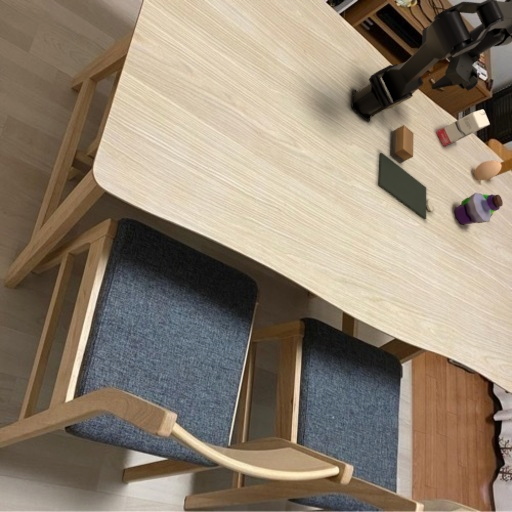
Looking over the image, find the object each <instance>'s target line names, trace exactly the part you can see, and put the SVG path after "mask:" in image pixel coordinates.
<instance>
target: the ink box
mask: <svg viewBox="0 0 512 512" xmlns="http://www.w3.org/2000/svg"><path fill="white" fill-rule="evenodd" d="M490 125H491V123H490V121H489V118H488V116H487V113H486V111H485V110H484V109H478V110H476V111H473V112H471V113H469V114H467V115H465V116H463V117H461V118H459V119H457V120H455V121H454V122H452V123H450V124H448V125H446V126H444V127H443V128H441V129H439V130H437V131H436V134H437V136H438V139H439V141H440V142H441V145H442V147H446V146H448V145H451V144H453V143H456V142H458V141H460V140H462V139H464V138H466V137H468V136H471V135H472V134H474V133H476V132H478V131H480V130H482V129H484V128H486V127H489V126H490Z"/></svg>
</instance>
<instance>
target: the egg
mask: <svg viewBox="0 0 512 512" xmlns="http://www.w3.org/2000/svg"><path fill="white" fill-rule="evenodd" d="M500 170H501V161H498V160H486V161H483V162H481V163H479V164H478V165H477V166H476V168H475V169H474V172H473V174H474V177H475V178H476V179H477V180H480V181H488V180H491V179H493V178H494V176H495V177H497V176H498V175H497V174H498V173H499V171H500ZM496 175H497V176H496Z"/></svg>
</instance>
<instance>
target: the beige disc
mask: <svg viewBox="0 0 512 512" xmlns="http://www.w3.org/2000/svg"><path fill="white" fill-rule="evenodd" d="M426 210H427V211H428V212H433V210H434V205H433V202H432V200H431V199H426Z"/></svg>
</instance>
